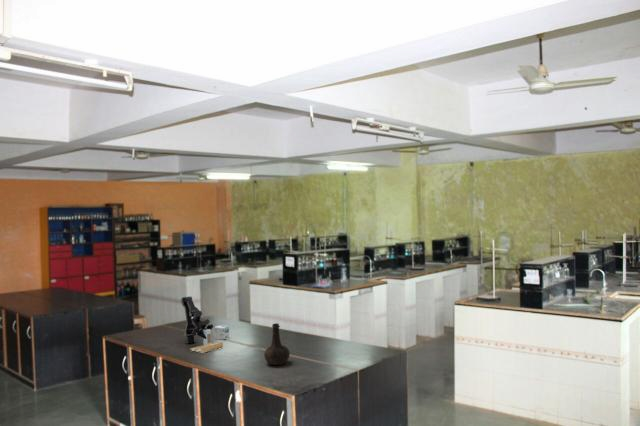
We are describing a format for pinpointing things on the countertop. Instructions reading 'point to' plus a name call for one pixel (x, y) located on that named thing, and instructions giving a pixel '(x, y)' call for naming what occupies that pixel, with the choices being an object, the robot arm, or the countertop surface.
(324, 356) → the countertop surface
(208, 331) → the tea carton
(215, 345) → the price rail
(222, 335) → the light bulb box
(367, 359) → the countertop surface
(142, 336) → the countertop surface
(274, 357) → the glass bottle
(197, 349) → the shelf board
